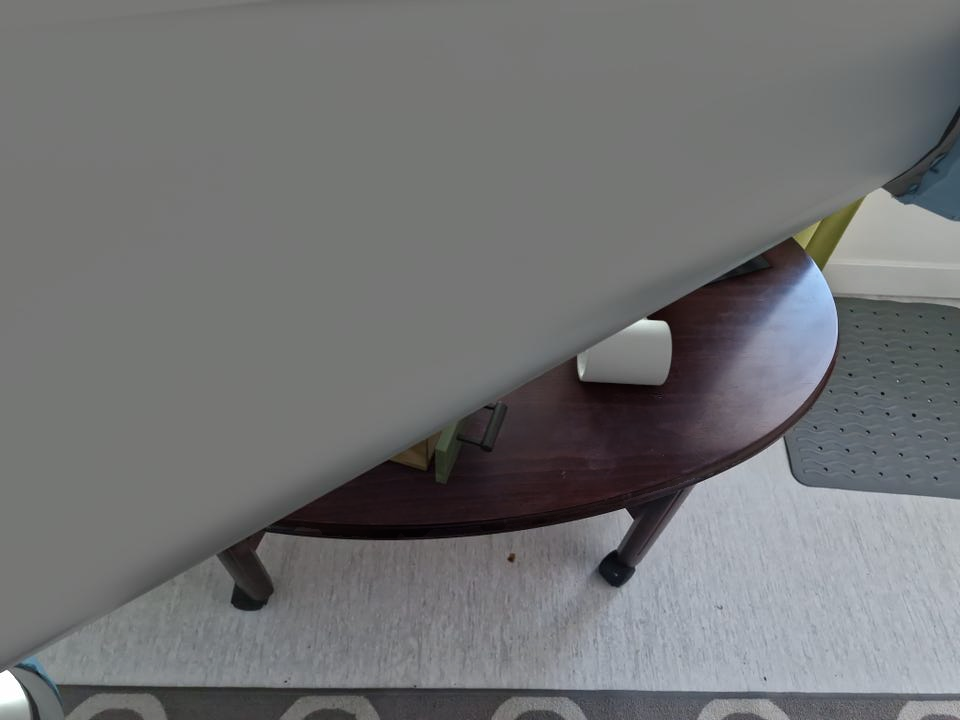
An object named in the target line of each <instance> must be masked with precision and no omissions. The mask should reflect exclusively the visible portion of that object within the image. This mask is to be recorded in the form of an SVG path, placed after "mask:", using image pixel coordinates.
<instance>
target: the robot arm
mask: <svg viewBox="0 0 960 720" xmlns="http://www.w3.org/2000/svg"><path fill="white" fill-rule="evenodd" d="M880 188H881V189H883V190H884V191H886V192H887V193H888V194H890V198H891V199H894V200H896V201H898V202H899V203H901V204H903V205H904V206H908V205H914V206H916V207H919V208H921V209H924V210H925V211H928V212H930V213H932V214H934V215H937V216H940V217H942V218H944V219H946V220H949V221H951V222H959V223H960V0H0V720H67V719H66V717H65V716H66V715H65V714H64V711H63V700H62V697H61V695H60V692H59V689H58V687H57V685H56V683H55V681H53V679H52V678H51V677H50V675H48V673H47V672H46V671H45V668H44V666H43V665H42V664H41V662H40V661H39V660H38V659H37V658H36V657H35V655H37V654H39V653H40V652H42V651H44V650H46V649H48V648H50V647H52V646H53V645H56V644H57V643H59V642H60V641H62V640H64V639H66V638H68V637H69V636H72V635H73V634H75V633H77V632H79V631H80V630H82V629H84V628H86V627H88V626H90V625H92V624H93V623H95V622H97V621H99V620H101V619H102V618H104V617H106V616H107V615H109V614H111V613H113V612H115V611H118V610H119V609H120V608H122V607H124V606H126V605H127V604H129V603H131V602H133V601H135V600H137V599H138V598H140V597H142V596H144V595H146V594H147V593H149V592H151V591H153V590H155V589H157V588H158V587H160V586H162V585H164V584H166V583H167V582H169V581H171V580H174V579H175V578H176V577H179V576H180V575H182V574H184V573H186V572H187V571H189V570H191V569H193V568H194V567H196V566H198V565H200V564H202V563H204V562H206V561H208V560H209V559H211V558H213V557H214V556H216V555H218V554H220V553H222V552H224V551H225V550H227V549H229V548H231V547H232V546H234V545H236V544H238V543H240V542H242V541H243V540H246V539H247V538H249V537H250V536H253V535H254V534H256V533H258V532H260V531H261V530H263V529H265V528H267V527H269V526H270V525H273V524H274V523H276V522H277V521H280V520H281V519H283V518H285V517H287V516H288V515H290V514H292V513H294V512H296V511H298V510H299V509H301V508H303V507H305V506H307V505H308V504H311V503H313V502H314V501H315V500H317V499H319V498H321V497H323V496H325V495H327V494H328V493H331V492H332V491H334V490H335V489H338V488H339V487H341V486H343V485H345V484H346V483H348V482H351V481H352V480H354V479H355V478H357V477H360V476H361V475H363V474H365V473H366V472H369V471H370V470H372V469H374V468H376V467H377V466H380V465H381V464H383V463H385V462H387V461H389V459H390V458H392V457H394V456H395V455H397V454H399V453H401V452H403V451H404V450H406V449H408V448H410V447H412V446H413V445H415V444H417V443H419V442H421V441H423V440H424V439H426V438H428V437H430V436H432V435H433V434H435V433H437V432H439V431H441V430H442V429H444V428H446V427H448V426H450V425H451V424H453V423H455V422H457V421H459V420H461V419H462V418H464V417H466V416H468V415H470V414H471V413H473V412H474V413H475V412H477V411H479V410H480V409H483V408H482V407H484V406H486V405H488V404H489V403H493V402H495V401H497V400H498V399H500V398H502V397H504V396H506V395H508V394H509V393H511V392H513V391H515V390H516V389H518V388H520V387H522V386H524V385H526V384H528V383H529V382H531V381H533V380H535V379H536V378H538V377H540V376H542V375H544V374H546V373H547V372H549V371H551V370H553V369H555V368H557V367H558V366H560V365H562V364H564V363H566V362H567V361H569V360H571V359H572V358H575V357H576V356H577V355H578V354H580V353H582V352H584V351H585V350H587V349H589V348H591V347H593V346H594V345H596V344H598V343H600V342H602V341H604V340H605V339H607V338H609V337H611V336H613V335H614V334H616V333H618V332H620V331H622V330H623V329H625V328H627V327H629V326H631V325H632V324H634V323H636V322H638V321H640V320H642V319H643V318H645V317H646V318H648V317H649V316H650V315H652V314H654V313H656V312H658V311H660V310H661V309H664V308H666V307H667V306H669V305H671V304H672V303H674V302H676V301H678V300H680V299H681V298H684V297H685V296H688V295H689V294H691V293H692V292H694V291H696V290H697V289H699V288H701V287H703V286H704V285H705V286H706V285H708V284H707V283H708V282H710V281H712V280H714V279H716V278H718V277H719V276H721V275H723V274H725V273H727V272H728V271H730V270H732V269H734V268H736V267H737V266H739V265H741V264H743V263H745V262H746V261H748V260H750V259H752V258H754V257H756V256H757V255H759V254H760V255H761V254H763V253H765V252H766V251H768V250H770V249H772V248H774V247H776V246H778V245H780V244H781V243H783V242H784V241H786V240H788V239H790V238H792V237H794V236H796V235H797V234H799V233H800V232H803V231H804V230H807V229H808V228H810V227H812V226H814V225H815V224H818V223H819V222H821V221H823V220H824V219H826V218H829V217H830V216H832V215H834V214H835V213H837V212H839V211H841V210H843V209H845V208H847V206H850V205H851V204H854V203H855V202H857V201H859V200H860V199H862V198H865V197H866V196H867V195H869V194H871V193H874V192H875V191H877V190H878V189H880Z"/></svg>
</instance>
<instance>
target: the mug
mask: <svg viewBox="0 0 960 720" xmlns="http://www.w3.org/2000/svg"><path fill="white" fill-rule="evenodd" d="M672 353H673V339H672V332H671V329H670V326H669V325H668V323H667V321H664V320H651V319H648V317H645V318H643V319H642V320H640V321H638V322H636V323H634V324H632V325H631V326H629V327H627V328H625V329H623V330H622V331H620V332H618V333H616V334H614V335H613V336H611V337H609V338H607V339H605V340H604V341H602V342H600V343H598V344H596V345H594V346H593V347H591V348H589V349H587V350H585V351H584V352H582V353H580V354H578V355H576V356H577V357H576V358H577V359H576V363H577V364H576V365H577V374H578V378H579V380H580V381H581V382H591V383H606V384H607V383H609V384H611V383H612V384H626V385H627V384H629V385H646V386H661V385H663V384H664V383H665V382H666V380H667V378H668V375H669V373H670V369H671V363H672V355H673V354H672Z"/></svg>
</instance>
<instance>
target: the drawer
mask: <svg viewBox="0 0 960 720" xmlns="http://www.w3.org/2000/svg"><path fill="white" fill-rule="evenodd" d="M481 409H486V410H490V411H492V412H491V415H490V417H489V420H488V423H487V426H486V429H485V432H484V435H483V437H482V439H480V438H476V437H473V436H470V435H466V434H467V431H468V429H469V427H470V424H471V422H472V419H473V417H474V414H475V412H473V413H471V414H470V415H468V416H466V417H464V418H462V419H461V420H459V421H457V422H455V423H453V424H451V425H450V426H448V427H446V428H444V429H442V430H441V431H439V432H437V433H435V434H433V435H432V436H430V437H428V438H426V439H424V440H423V441H421V442H419V443H417V444H415V445H413V446H412V447H410V448H408V449H406V450H404V451H403V452H401V453H399V454H397V455H395V456H394V457H392V458H390V459H388V461H391V462H394V463H399V464H402V465H405V466H409V467H411V468H414V469H415V468H416V469H418V470H423V471H425V472H427V471H428V468H429V466H430V464H431V462H432V459H433V457H434V458H435V459H434V463H435V467H434V468H435V482H437V483H440V484H444V485H447V483H448V481H449V477H450V475H451V472H452V470H453V468H454V465H455V462H456V460H457V457H458V455H459V452H460V449H461V448H462V445H463V443H465V444H469V445H472V446H476V447H478V448H479V449H480V450H481V451H482V452H483V453H492V452H493V450H494V447H495V445H496V441H497V439H498V436H499V434H500V431H501V427H502V425H503V422H504V419H505V416H506V414H507V411H508V409H509V408H508V405H507V404H506V403H505V402H502V401H497V402H496V403H493V402H491V403H489V404H488V405H486V406H484V407H482V408H481Z"/></svg>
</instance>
